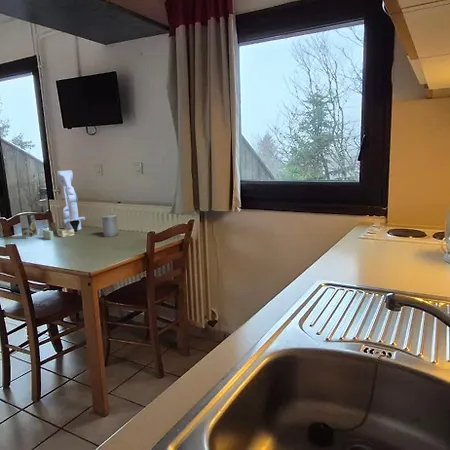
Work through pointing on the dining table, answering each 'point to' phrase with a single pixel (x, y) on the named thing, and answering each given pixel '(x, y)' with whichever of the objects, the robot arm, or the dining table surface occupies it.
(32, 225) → the coffee box
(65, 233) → the socket block
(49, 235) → the board
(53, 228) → the dowel
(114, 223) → the pillar candle
